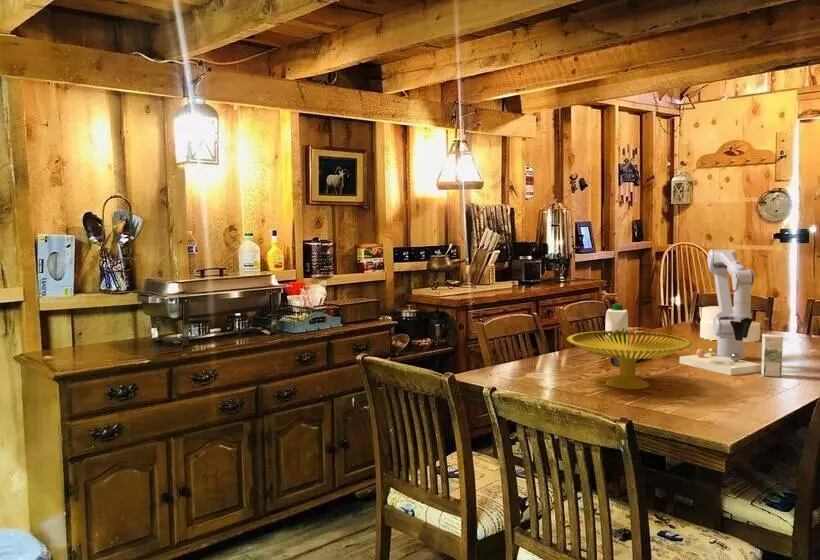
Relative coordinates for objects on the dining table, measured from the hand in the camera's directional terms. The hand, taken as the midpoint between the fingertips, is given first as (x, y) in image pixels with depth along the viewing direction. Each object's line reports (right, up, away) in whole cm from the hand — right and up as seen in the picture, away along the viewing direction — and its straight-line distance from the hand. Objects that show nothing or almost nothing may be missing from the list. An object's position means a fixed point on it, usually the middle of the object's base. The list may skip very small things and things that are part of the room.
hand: (741, 339), depth 258 cm
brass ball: (-6, -6, +10) cm, 13 cm away
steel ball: (-3, -7, -2) cm, 7 cm away
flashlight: (-37, -10, +12) cm, 41 cm away
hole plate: (-8, -11, +1) cm, 13 cm away
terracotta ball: (-12, -6, +7) cm, 15 cm away
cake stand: (-50, -13, -24) cm, 56 cm away
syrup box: (+4, -12, -14) cm, 19 cm away
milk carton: (-38, -9, +29) cm, 48 cm away
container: (+24, -5, +62) cm, 66 cm away
